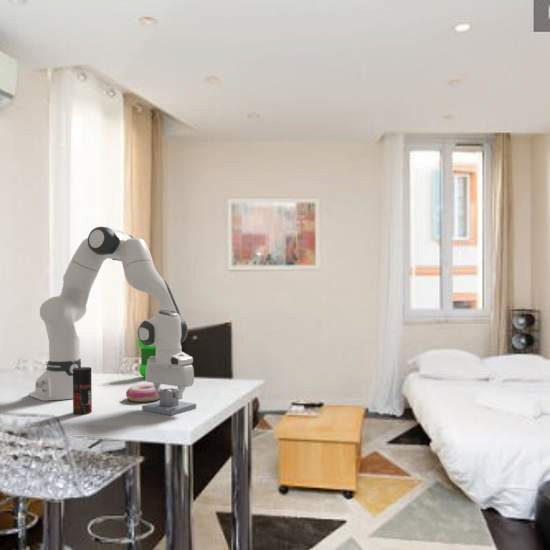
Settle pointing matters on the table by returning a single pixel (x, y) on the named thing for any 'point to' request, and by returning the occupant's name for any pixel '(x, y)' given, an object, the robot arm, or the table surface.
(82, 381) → the deodorant
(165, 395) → the ring
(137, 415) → the table surface
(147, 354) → the plastic bottle
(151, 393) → the donut
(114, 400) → the table surface
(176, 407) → the shaft block
